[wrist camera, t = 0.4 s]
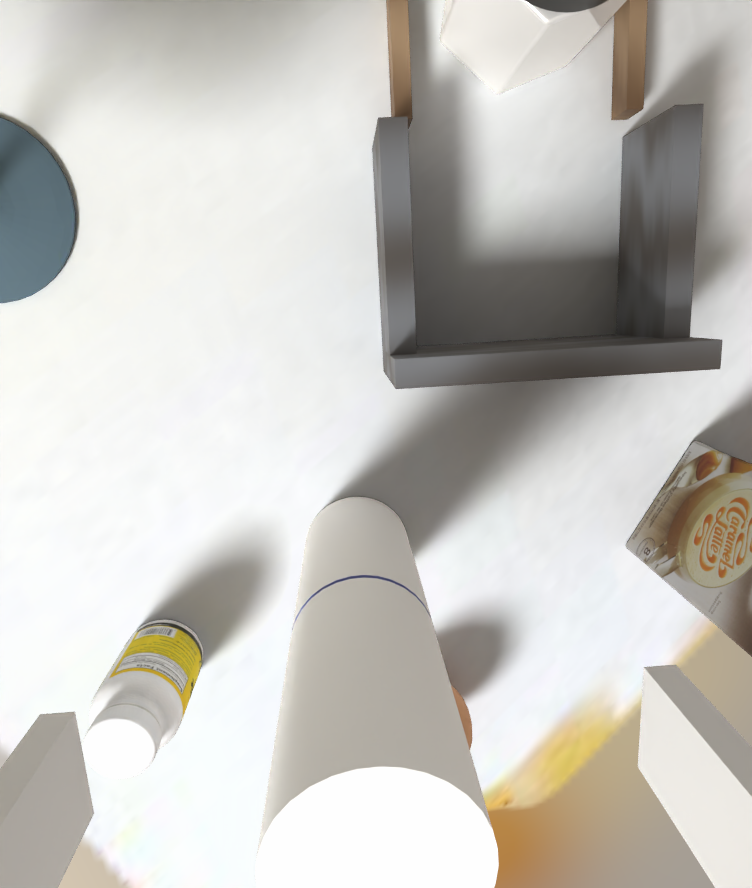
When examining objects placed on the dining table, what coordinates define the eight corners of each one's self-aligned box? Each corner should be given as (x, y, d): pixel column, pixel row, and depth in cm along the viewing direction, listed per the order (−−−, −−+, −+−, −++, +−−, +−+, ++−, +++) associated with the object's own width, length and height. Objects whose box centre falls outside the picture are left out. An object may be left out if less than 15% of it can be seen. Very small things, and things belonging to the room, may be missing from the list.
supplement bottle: (168, 698, 44) (120, 807, 34) (112, 650, 43) (46, 748, 33) (221, 652, 43) (187, 749, 34) (165, 602, 42) (114, 687, 33)
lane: (354, -201, 33) (359, -389, 24) (660, -207, 33) (774, -392, 25) (383, 371, 39) (396, 388, 31) (637, 356, 40) (720, 368, 31)
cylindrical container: (408, 496, 41) (505, 762, 17) (406, 591, 43) (491, 960, 19) (304, 496, 41) (251, 770, 17) (306, 593, 43) (259, 973, 18)
